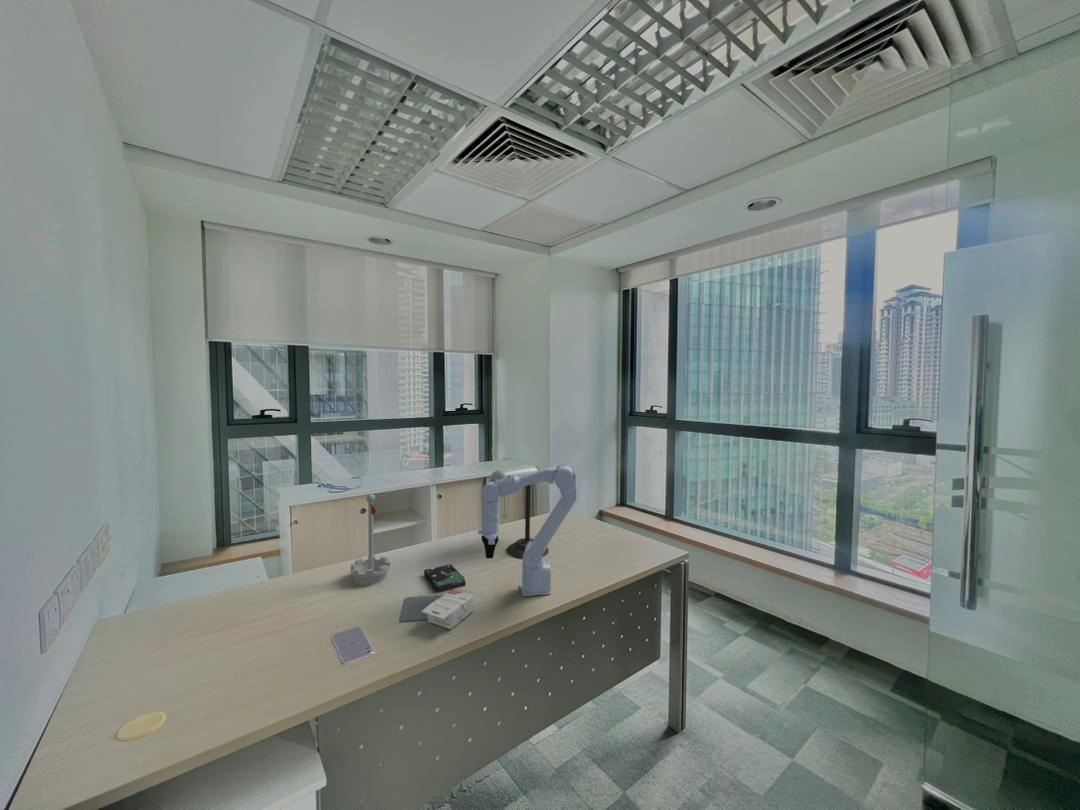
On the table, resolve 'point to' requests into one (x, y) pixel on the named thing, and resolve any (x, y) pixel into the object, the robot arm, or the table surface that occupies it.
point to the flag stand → (370, 558)
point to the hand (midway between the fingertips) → (489, 557)
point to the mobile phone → (352, 645)
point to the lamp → (520, 471)
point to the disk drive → (444, 578)
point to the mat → (416, 608)
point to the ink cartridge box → (450, 608)
